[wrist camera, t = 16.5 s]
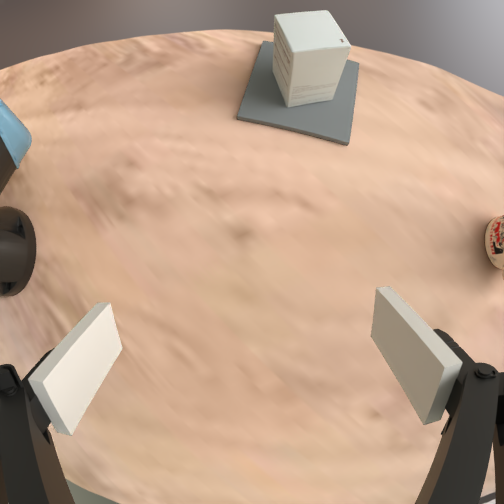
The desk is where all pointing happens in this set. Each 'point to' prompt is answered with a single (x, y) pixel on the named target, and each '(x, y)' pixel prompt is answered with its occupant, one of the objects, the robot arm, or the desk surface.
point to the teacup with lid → (495, 242)
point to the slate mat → (303, 116)
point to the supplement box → (308, 56)
